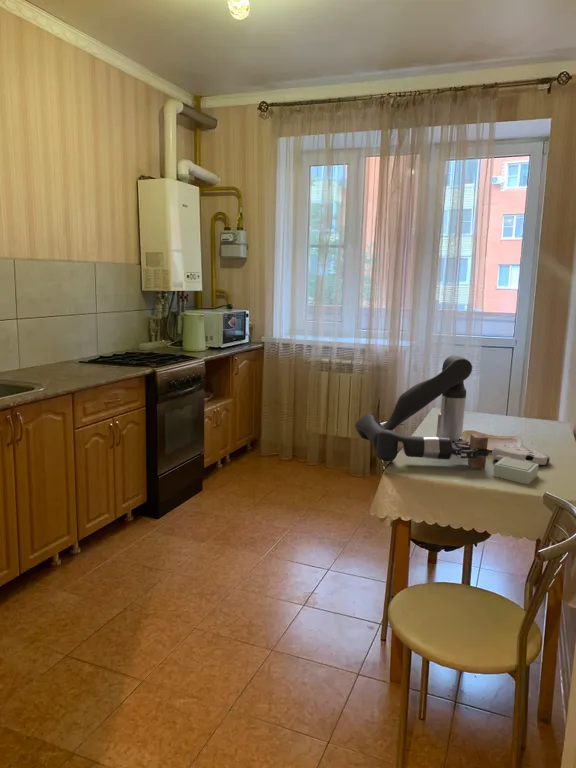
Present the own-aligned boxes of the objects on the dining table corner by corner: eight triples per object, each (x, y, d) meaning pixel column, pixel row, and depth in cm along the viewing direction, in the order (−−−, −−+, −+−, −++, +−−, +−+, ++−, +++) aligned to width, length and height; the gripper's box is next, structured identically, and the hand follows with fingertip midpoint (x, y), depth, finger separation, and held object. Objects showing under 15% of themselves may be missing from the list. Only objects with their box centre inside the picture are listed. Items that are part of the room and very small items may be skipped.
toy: (477, 451, 213) (498, 466, 193) (479, 439, 212) (501, 452, 193) (533, 460, 214) (560, 476, 194) (536, 448, 214) (563, 463, 194)
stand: (493, 476, 186) (494, 463, 185) (503, 468, 195) (504, 456, 194) (528, 484, 180) (529, 471, 179) (537, 475, 188) (538, 463, 188)
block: (471, 468, 193) (474, 437, 191) (467, 464, 197) (470, 433, 195) (484, 469, 193) (488, 438, 191) (480, 465, 197) (484, 434, 195)
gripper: (430, 452, 202) (478, 454, 201) (439, 465, 188) (491, 467, 187) (432, 431, 200) (481, 434, 200) (441, 443, 186) (494, 445, 186)
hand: (485, 450), depth 194 cm, fingers closed on block, 4 cm apart
